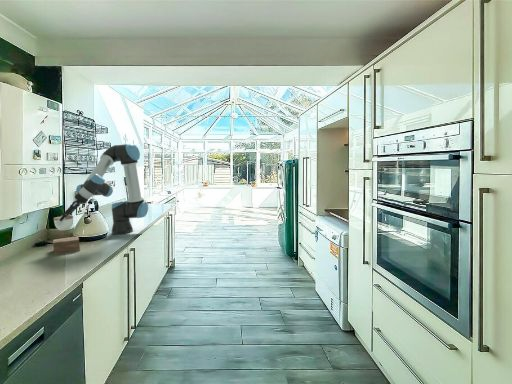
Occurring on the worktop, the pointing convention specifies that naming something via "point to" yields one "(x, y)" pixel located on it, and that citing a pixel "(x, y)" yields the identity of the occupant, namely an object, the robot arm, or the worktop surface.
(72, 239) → the walnut block
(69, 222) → the lidded jar
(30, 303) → the worktop surface
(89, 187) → the robot arm
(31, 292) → the worktop surface
